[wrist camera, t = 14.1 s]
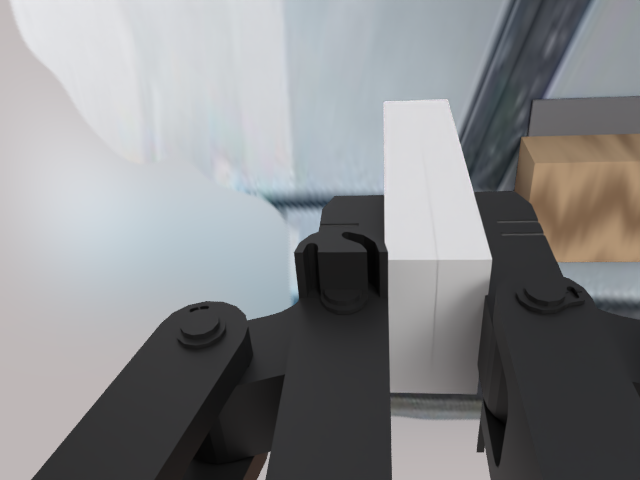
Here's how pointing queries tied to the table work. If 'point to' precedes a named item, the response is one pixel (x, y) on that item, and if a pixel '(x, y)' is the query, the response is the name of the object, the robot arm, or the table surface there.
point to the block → (584, 194)
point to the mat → (585, 116)
